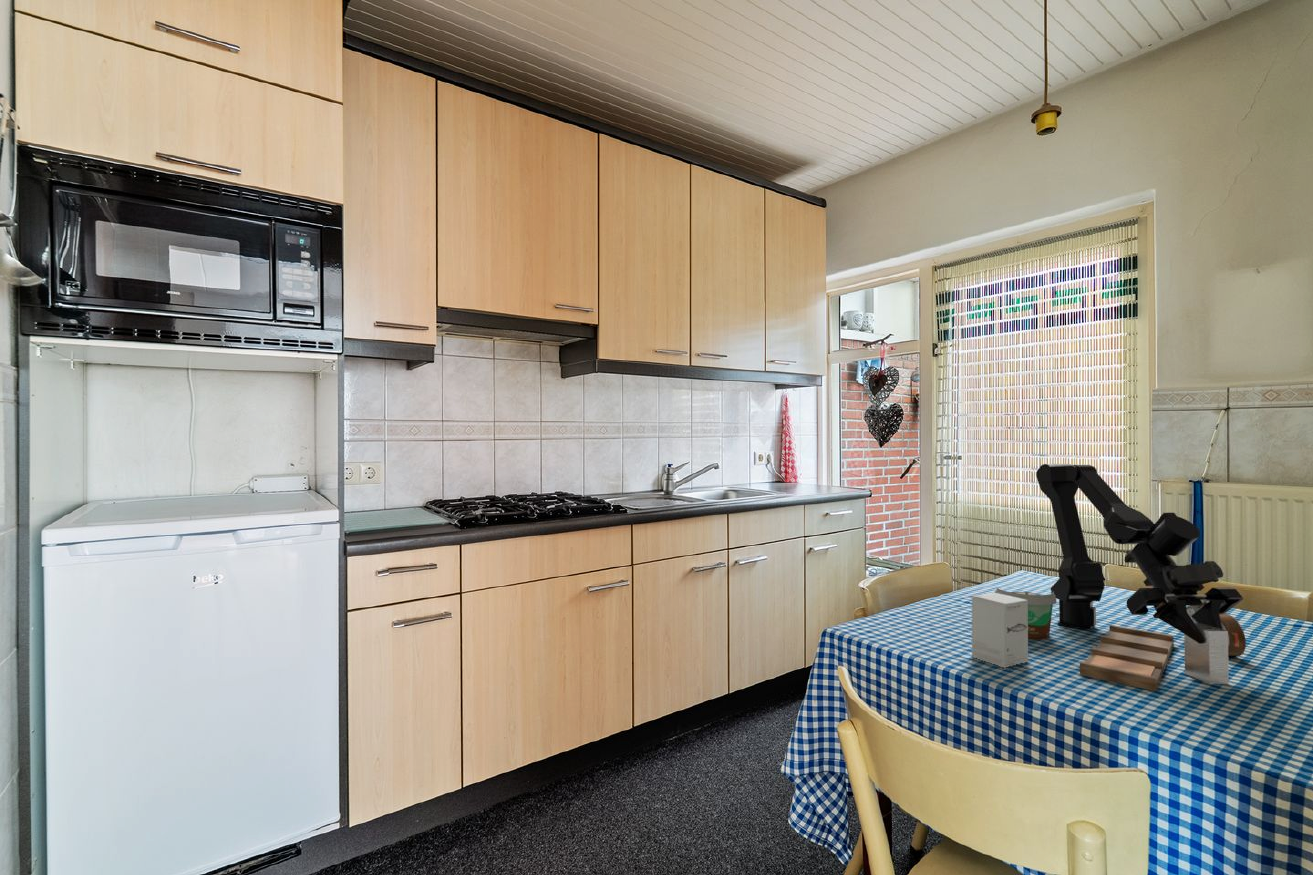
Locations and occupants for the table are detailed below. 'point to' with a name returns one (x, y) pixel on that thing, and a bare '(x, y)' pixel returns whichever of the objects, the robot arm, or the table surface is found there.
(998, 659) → the supplement box
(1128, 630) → the rack
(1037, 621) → the food container
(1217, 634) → the brushed grey box
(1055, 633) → the table surface
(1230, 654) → the tin
